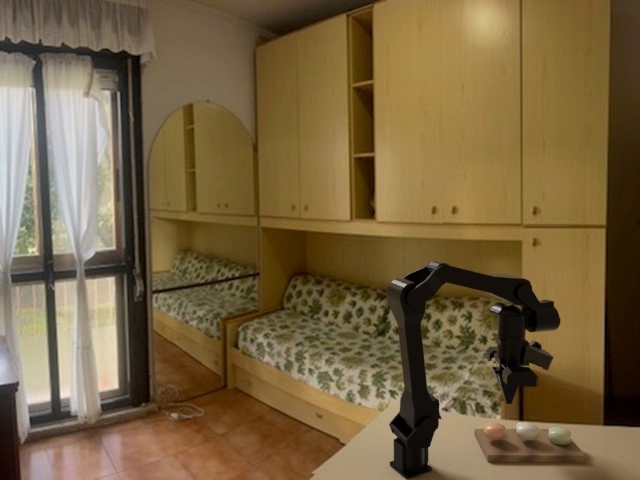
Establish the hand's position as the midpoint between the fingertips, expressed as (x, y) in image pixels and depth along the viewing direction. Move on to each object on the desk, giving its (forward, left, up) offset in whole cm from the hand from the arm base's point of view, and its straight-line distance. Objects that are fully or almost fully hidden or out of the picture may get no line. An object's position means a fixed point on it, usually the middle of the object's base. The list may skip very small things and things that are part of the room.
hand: (508, 403), depth 116 cm
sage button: (+10, -5, -9) cm, 14 cm away
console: (+4, -2, -10) cm, 11 cm away
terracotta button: (-2, +2, -7) cm, 8 cm away
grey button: (+4, -2, -7) cm, 9 cm away
